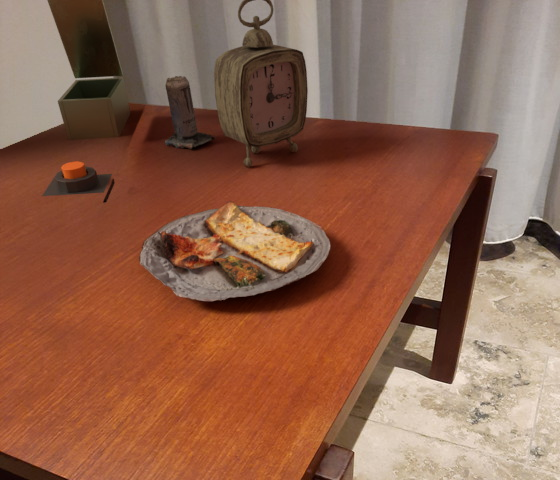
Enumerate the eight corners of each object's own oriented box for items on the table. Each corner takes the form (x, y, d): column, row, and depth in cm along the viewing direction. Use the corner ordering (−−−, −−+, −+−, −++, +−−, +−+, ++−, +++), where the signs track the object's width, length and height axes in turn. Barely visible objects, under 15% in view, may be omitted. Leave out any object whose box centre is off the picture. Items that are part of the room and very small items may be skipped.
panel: (44, 206, 90) (37, 185, 87) (56, 186, 96) (50, 166, 93) (106, 202, 90) (101, 181, 88) (114, 183, 96) (110, 163, 94)
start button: (62, 181, 89) (58, 170, 88) (67, 172, 92) (64, 162, 91) (84, 179, 89) (81, 169, 88) (89, 171, 92) (86, 160, 91)
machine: (120, 145, 110) (110, 98, 104) (70, 148, 110) (57, 100, 104) (132, 121, 122) (123, 77, 116) (86, 123, 122) (75, 79, 116)
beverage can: (160, 148, 108) (149, 80, 100) (180, 135, 114) (171, 70, 106) (201, 152, 106) (192, 84, 98) (219, 139, 111) (212, 73, 103)
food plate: (115, 253, 77) (109, 229, 75) (252, 205, 87) (250, 183, 85) (210, 336, 62) (206, 310, 59) (362, 266, 72) (364, 241, 70)
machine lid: (99, -11, 101) (101, -26, 104) (44, -8, 101) (48, -23, 104) (122, 76, 116) (124, 60, 118) (74, 78, 116) (77, 63, 118)
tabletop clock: (245, 173, 97) (232, 3, 81) (216, 159, 103) (199, -2, 86) (307, 152, 104) (307, -9, 87) (277, 140, 109) (272, -13, 93)
